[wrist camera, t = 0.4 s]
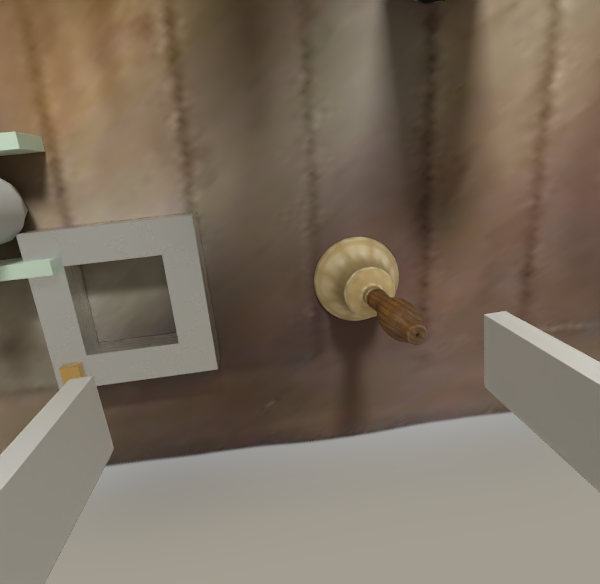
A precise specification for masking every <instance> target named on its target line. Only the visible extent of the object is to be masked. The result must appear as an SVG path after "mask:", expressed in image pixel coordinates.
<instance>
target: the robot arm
mask: <svg viewBox="0 0 600 584" xmlns="http://www.w3.org/2000/svg"><path fill="white" fill-rule="evenodd" d="M484 387H486V388H487V389H488V390H489V391H490V392H491V393H492V394H493V395H494V396H495V397H496V398H498V399H499V400H500V401H501V402H502V403H503V404H504V405H505V406H506V407H507V408H508V409H510V410H511V411H512V412H513V413H514V414H515V415H516V416H517V417H518V418H519V419H520V420H521V421H523V422H524V423H525V424H526V425H527V426H528V427H529V428H530V429H531V430H532V431H533V432H535V433H536V434H537V435H538V436H539V437H540V438H541V439H542V440H543V441H544V442H545V443H547V444H548V445H549V446H550V447H551V448H552V449H553V450H554V451H555V452H556V453H557V454H559V455H560V456H561V457H562V458H563V459H564V460H565V461H566V462H567V463H568V464H569V465H570V466H572V467H573V468H574V469H575V470H576V471H577V472H578V473H579V474H580V475H581V476H582V477H584V478H585V479H586V480H587V481H588V482H589V483H590V484H591V485H592V486H593V487H594V488H596V489H597V490H598V491H599V492H600V362H598V361H597V360H595V359H593V358H591V357H589V356H587V355H586V354H584V353H582V352H580V351H578V350H576V349H574V348H573V347H571V346H569V345H567V344H565V343H563V342H561V341H560V340H558V339H556V338H554V337H552V336H550V335H549V334H547V333H545V332H543V331H541V330H539V329H537V328H536V327H534V326H532V325H530V324H528V323H526V322H525V321H523V320H521V319H519V318H517V317H515V316H513V315H512V314H510V313H508V312H506V311H503V312H497V313H491V314H484ZM113 450H114V446H113V443H112V439H111V436H110V432H109V429H108V425H107V422H106V418H105V415H104V411H103V408H102V404H101V401H100V397H99V394H98V390H97V387H96V383H95V380H94V376H88V377H81V378H75V379H69V380H68V381H67V382H66V383H65V384H64V386H63V387H62V388H61V389H60V390H59V391H58V392H57V393H56V394H55V395H54V397H53V398H52V399H51V400H50V401H49V402H48V403H47V404H46V405H45V406H44V407H43V409H42V410H41V411H40V412H39V413H38V414H37V415H36V416H35V417H34V418H33V420H32V421H31V422H30V423H29V424H28V425H27V426H26V427H25V428H24V429H23V431H22V432H21V433H20V434H19V435H18V436H17V437H16V438H15V439H14V440H13V442H12V443H11V444H10V445H9V446H8V447H7V448H6V449H5V450H4V451H3V452H2V454H1V455H0V584H45V582H46V580H47V578H48V576H49V574H50V572H51V570H52V568H53V566H54V564H55V562H56V560H57V559H58V557H59V555H60V553H61V551H62V549H63V547H64V545H65V543H66V541H67V539H68V537H69V535H70V533H71V531H72V529H73V527H74V526H75V523H76V522H77V520H78V518H79V516H80V514H81V512H82V510H83V508H84V506H85V504H86V502H87V500H88V498H89V496H90V495H91V493H92V491H93V489H94V487H95V485H96V483H97V481H98V479H99V477H100V475H101V473H102V471H103V469H104V467H105V465H106V463H107V462H108V460H109V458H110V456H111V454H112V452H113Z"/></svg>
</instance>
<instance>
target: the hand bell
mask: <svg viewBox="0 0 600 584" xmlns="http://www.w3.org/2000/svg"><path fill="white" fill-rule="evenodd" d="M398 283H399V271H398V266H397V263H396V260H395V258H394V256H393V255H392V253H391V252H390V251H389V249H388V248H387V247H386V246H384V245H383V244H382V243H380V242H378V241H376V240H374V239H371V238H367V237H350V238H346V239H343V240H341V241H339V242H337V243H335V244H334V245H332V246H331V247H330V248H329V249H328V250H327V251H326V252H325V253H324V254H323V255H322V257H321V259H320V260H319V262H318V264H317V267H316V270H315V275H314V286H315V292H316V295H317V297H318V299H319V301H320V303H321V304H322V306H323V307H324V308H325V309H326V310H327V311H328V312H329V313H331V314H332V315H334V316H336V317H338V318H341V319H344V320H349V321H359V320H364V319H368V318H371V317H374V316H377V318H378V321H379V323H380V325H381V327H382V328H383V330H384V331H385V332H386V333H387V334H388V335H389V336H391V337H392V338H394V339H395V340H398V341H401V342H407V343H411V344H414V345H419V344H421V343H423V342H424V341H425V339H426V338H427V330H426V329H425V326H424V321H423V319H422V316H421V314H420V312H419V311H418V310H417V309H416V308H415V307H414V306H413V305H412V304H410V303H409V302H407V301H405V300H403V299H400V298H394V296H395V293H396V291H397V288H398Z"/></svg>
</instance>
